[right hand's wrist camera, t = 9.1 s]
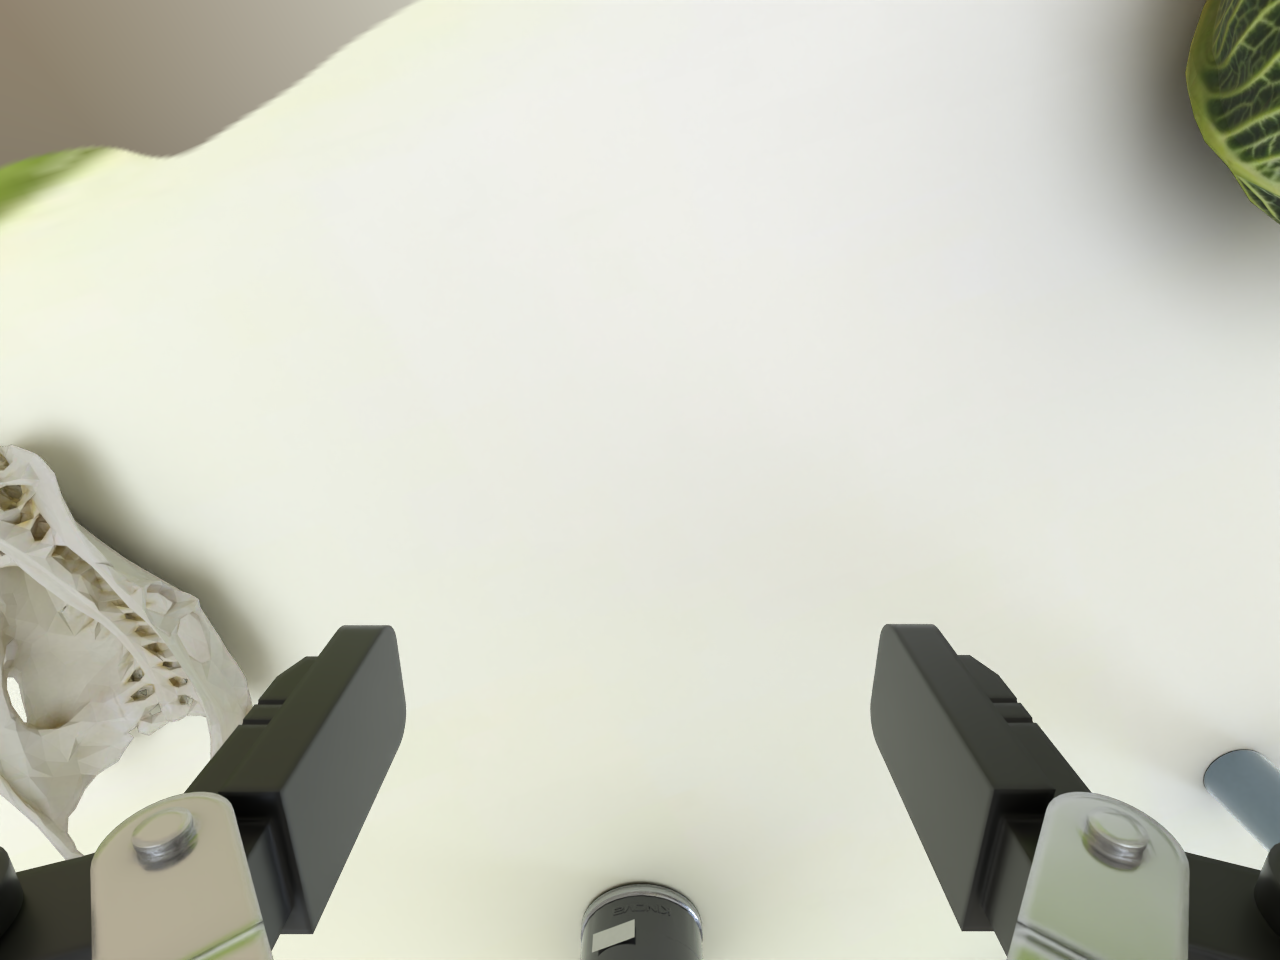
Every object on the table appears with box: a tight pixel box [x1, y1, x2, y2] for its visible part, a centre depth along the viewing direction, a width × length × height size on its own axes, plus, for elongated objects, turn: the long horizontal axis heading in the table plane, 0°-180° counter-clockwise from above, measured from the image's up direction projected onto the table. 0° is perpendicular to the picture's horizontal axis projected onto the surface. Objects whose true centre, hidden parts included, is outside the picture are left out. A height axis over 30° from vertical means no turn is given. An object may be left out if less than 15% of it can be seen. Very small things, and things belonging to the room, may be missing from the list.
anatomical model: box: [0, 445, 253, 860], centre depth 41 cm, size 15×9×25 cm
